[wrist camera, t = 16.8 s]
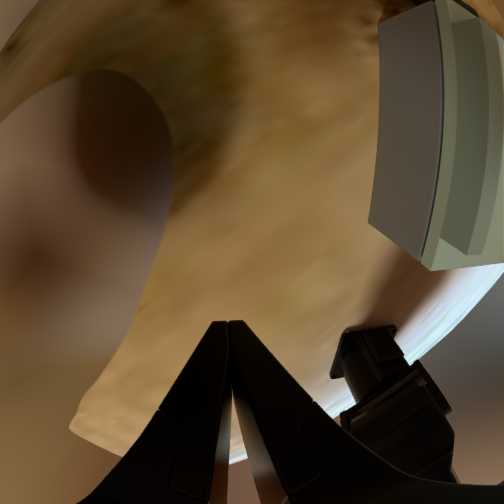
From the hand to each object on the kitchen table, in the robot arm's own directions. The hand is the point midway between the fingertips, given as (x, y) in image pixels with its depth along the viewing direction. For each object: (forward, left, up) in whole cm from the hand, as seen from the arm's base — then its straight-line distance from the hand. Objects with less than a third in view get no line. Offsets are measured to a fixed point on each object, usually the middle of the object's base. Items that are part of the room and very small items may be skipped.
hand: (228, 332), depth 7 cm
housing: (+7, -19, -12) cm, 24 cm away
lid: (+7, -19, -5) cm, 21 cm away
